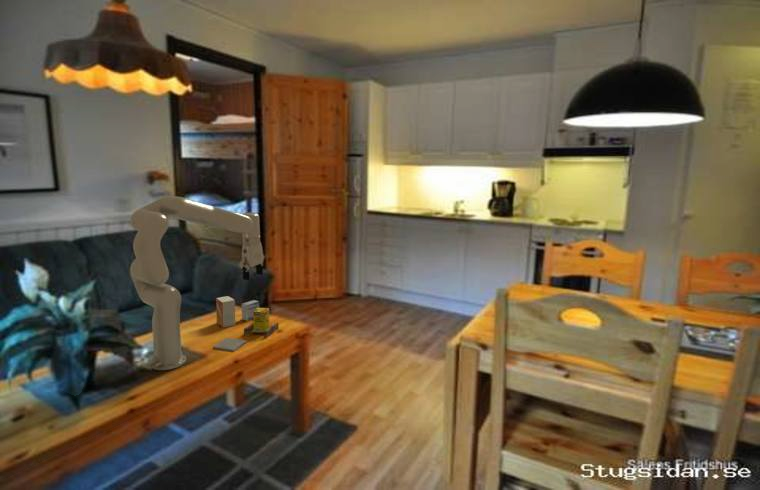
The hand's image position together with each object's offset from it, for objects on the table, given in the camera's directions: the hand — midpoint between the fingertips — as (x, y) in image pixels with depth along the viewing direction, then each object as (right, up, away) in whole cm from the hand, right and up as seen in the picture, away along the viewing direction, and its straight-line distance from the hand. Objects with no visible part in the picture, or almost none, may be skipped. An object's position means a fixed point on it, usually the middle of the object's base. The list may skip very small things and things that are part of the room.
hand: (253, 276), depth 191 cm
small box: (-18, -25, +14) cm, 33 cm away
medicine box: (-8, -23, +23) cm, 34 cm away
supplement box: (+2, -27, +6) cm, 28 cm away
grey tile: (-7, -29, -10) cm, 32 cm away
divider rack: (+2, -27, +6) cm, 27 cm away
